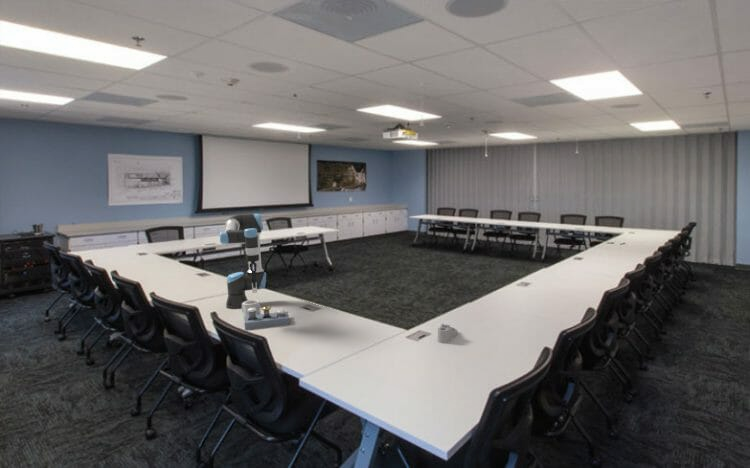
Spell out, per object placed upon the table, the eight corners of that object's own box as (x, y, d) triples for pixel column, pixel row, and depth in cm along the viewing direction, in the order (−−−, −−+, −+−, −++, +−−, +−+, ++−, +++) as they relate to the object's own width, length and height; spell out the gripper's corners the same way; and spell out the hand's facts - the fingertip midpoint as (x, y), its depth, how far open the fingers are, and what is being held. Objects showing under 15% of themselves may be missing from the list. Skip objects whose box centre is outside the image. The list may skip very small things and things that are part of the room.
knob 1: (248, 317, 254) (247, 308, 253) (256, 316, 256) (256, 307, 255) (248, 320, 249) (247, 310, 249) (256, 319, 251) (256, 309, 250)
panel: (245, 322, 258) (245, 316, 258) (287, 317, 266) (287, 311, 265) (245, 329, 245) (244, 323, 245) (289, 324, 252) (289, 318, 252)
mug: (264, 315, 272) (263, 300, 271) (252, 320, 262) (251, 304, 261) (248, 312, 277) (247, 298, 276) (236, 317, 268) (235, 302, 267)
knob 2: (276, 319, 259) (276, 310, 259) (285, 318, 261) (284, 309, 260) (277, 322, 255) (276, 312, 254) (285, 321, 256) (285, 311, 255)
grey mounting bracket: (458, 333, 231) (458, 319, 230) (446, 344, 216) (446, 329, 215) (449, 331, 234) (449, 317, 233) (436, 342, 219) (436, 327, 218)
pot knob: (262, 316, 257) (261, 306, 256) (270, 315, 258) (270, 305, 257) (262, 318, 252) (262, 308, 251) (271, 317, 253) (270, 307, 252)
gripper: (245, 253, 253) (248, 290, 256) (246, 256, 241) (248, 296, 244) (258, 252, 256) (260, 289, 259) (259, 255, 243) (261, 294, 246)
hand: (254, 292), depth 251 cm, fingers closed
